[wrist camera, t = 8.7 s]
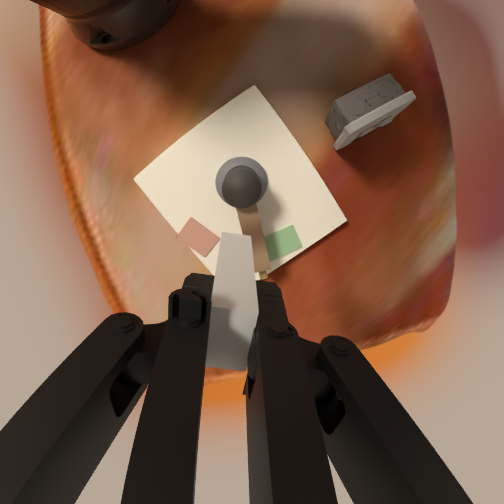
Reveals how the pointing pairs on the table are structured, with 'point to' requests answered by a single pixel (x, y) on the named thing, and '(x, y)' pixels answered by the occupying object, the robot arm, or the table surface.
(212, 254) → the tuner plate
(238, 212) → the peg
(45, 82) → the table surface
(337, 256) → the table surface
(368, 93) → the electrical switch
